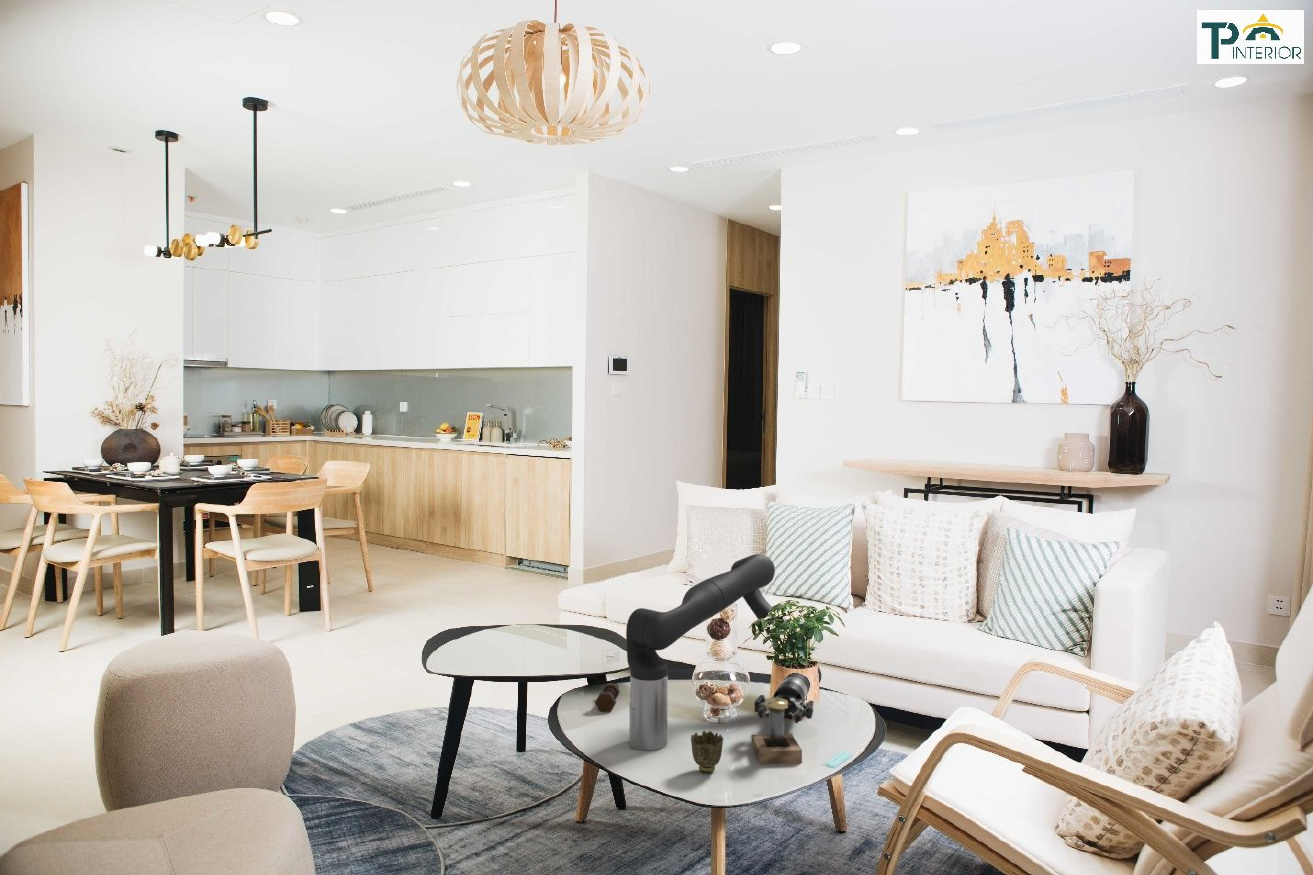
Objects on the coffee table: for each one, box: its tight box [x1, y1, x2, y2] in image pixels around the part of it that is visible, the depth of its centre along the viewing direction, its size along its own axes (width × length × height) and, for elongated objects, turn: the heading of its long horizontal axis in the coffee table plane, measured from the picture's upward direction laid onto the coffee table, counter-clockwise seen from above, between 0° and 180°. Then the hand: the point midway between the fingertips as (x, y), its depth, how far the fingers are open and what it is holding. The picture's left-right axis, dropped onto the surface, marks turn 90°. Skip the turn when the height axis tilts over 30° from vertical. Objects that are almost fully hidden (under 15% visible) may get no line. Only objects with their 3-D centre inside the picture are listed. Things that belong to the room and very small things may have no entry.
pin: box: [766, 697, 788, 747], centre depth 212 cm, size 5×5×13 cm
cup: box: [690, 730, 724, 774], centre depth 202 cm, size 8×7×8 cm
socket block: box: [751, 733, 803, 765], centre depth 212 cm, size 10×10×3 cm
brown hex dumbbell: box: [594, 682, 621, 713], centre depth 248 cm, size 6×5×15 cm
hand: (778, 716), depth 214 cm, fingers open, 8 cm apart
